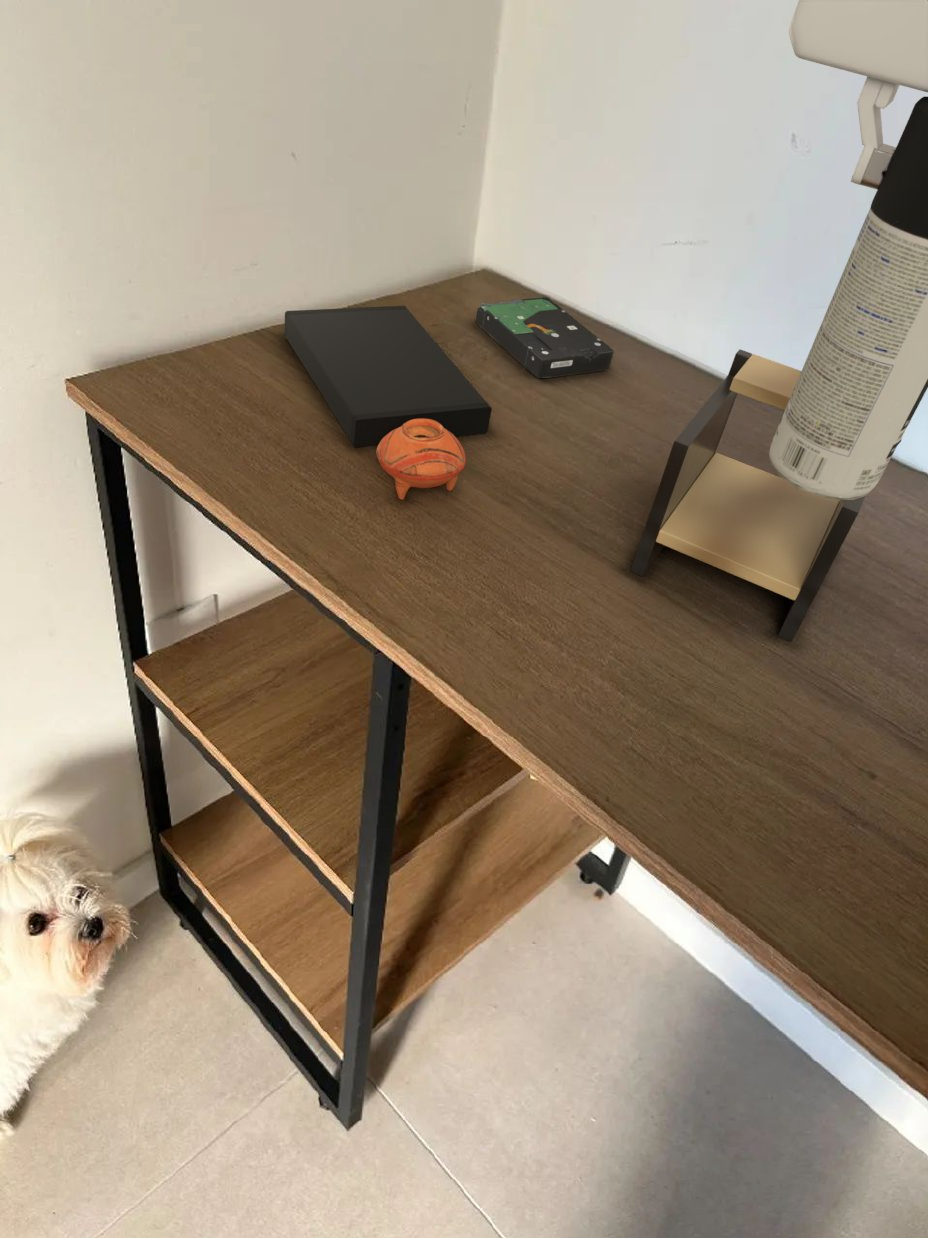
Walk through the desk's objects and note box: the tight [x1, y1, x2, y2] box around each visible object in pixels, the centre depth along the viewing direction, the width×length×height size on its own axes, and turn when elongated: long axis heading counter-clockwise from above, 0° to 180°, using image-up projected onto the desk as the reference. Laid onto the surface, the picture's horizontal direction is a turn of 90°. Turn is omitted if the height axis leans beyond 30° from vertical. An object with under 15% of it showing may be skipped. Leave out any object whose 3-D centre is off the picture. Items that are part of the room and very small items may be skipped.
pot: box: [375, 418, 467, 501], centre depth 83 cm, size 8×8×7 cm
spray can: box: [768, 96, 928, 501], centre depth 50 cm, size 7×7×20 cm
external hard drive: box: [283, 305, 493, 448], centre depth 97 cm, size 14×23×3 cm, turn 25°
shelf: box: [630, 349, 866, 643], centre depth 79 cm, size 14×16×15 cm
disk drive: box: [475, 296, 615, 379], centre depth 110 cm, size 10×3×15 cm
